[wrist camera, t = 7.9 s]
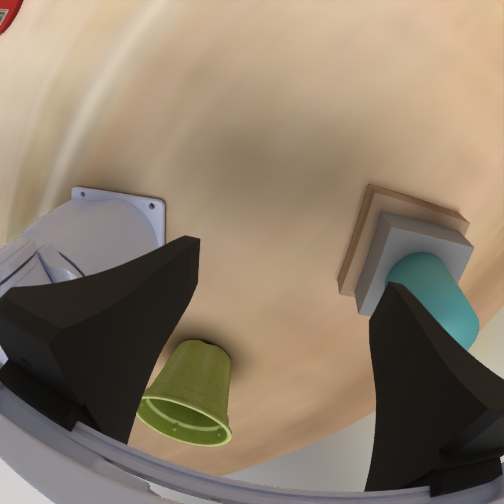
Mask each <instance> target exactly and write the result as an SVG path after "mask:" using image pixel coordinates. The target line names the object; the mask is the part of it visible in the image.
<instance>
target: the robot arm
mask: <svg viewBox="0 0 504 504" xmlns="http://www.w3.org/2000/svg"><path fill="white" fill-rule="evenodd" d="M83 192H84V193H85V195H84V193H83ZM71 194H72V199H70V200H69V201H67V202H65V203H64V204H62V205H60V206H59V207H57V208H55V209H54V210H52V211H50V212H49V213H47V214H46V215H44V216H42V217H41V218H39V219H38V220H36V221H35V222H33V223H32V224H30V225H29V226H28V227H27V228H26V229H25V231H24V232H23V234H22V235H21V237H19V238H17V239H15V240H14V241H12V242H10V243H8V244H7V245H5V246H4V247H2V248H1V249H0V457H1V459H2V460H4V461H5V462H6V463H7V464H8V465H9V466H10V467H11V468H12V469H13V470H14V471H15V472H16V473H18V474H19V475H20V476H21V477H22V478H23V479H25V480H26V481H27V482H28V483H29V484H30V485H32V486H33V487H34V488H35V489H37V490H38V491H39V492H41V493H42V494H43V495H44V496H46V497H47V498H49V499H50V500H51V501H53V502H54V503H55V504H183V503H179V502H176V501H172V500H169V499H165V498H162V497H161V496H159V495H158V494H156V493H155V492H153V491H152V490H151V489H150V485H149V483H147V482H145V481H143V480H141V479H139V478H137V477H140V478H142V479H145V480H147V481H150V482H152V483H155V484H158V485H161V486H163V487H167V488H169V489H172V490H175V491H178V492H181V493H185V494H188V495H191V496H195V497H198V498H202V499H206V500H210V501H214V502H218V503H223V504H504V462H503V463H501V461H500V457H502V456H503V455H504V379H502V378H501V377H499V376H498V375H496V374H495V373H493V372H492V371H491V370H489V369H488V368H487V367H485V366H484V365H483V364H482V363H480V362H479V361H478V360H476V359H475V358H474V357H473V356H472V355H471V354H470V353H468V352H467V351H466V350H465V349H464V348H463V347H462V346H461V345H460V344H459V343H458V342H457V341H456V340H455V339H454V338H453V337H452V336H451V335H450V334H449V333H448V332H447V331H446V330H445V329H444V328H443V327H442V326H441V325H440V323H439V322H438V321H437V320H436V319H435V318H434V317H433V316H432V315H431V313H430V312H429V311H428V310H427V309H426V308H425V307H424V306H423V304H422V303H421V302H420V301H419V300H418V299H417V298H416V297H415V296H414V295H413V294H412V293H411V291H409V290H408V289H407V288H406V287H405V286H404V285H403V284H400V283H396V282H391V281H388V284H387V286H386V288H385V290H384V292H383V294H382V296H381V298H380V300H379V302H378V304H377V306H376V308H375V310H374V312H373V314H372V316H371V318H370V320H369V344H370V351H371V359H372V366H373V373H374V381H375V390H376V424H375V436H374V445H373V452H372V458H371V464H370V469H369V474H368V478H367V482H366V486H365V490H364V492H327V491H309V490H298V489H289V488H280V487H273V486H266V485H260V484H254V483H249V482H243V481H239V480H233V479H229V478H225V477H221V476H217V475H213V474H209V473H205V472H201V471H198V470H194V469H191V468H188V467H184V466H181V465H178V464H175V463H172V462H169V461H166V460H163V459H161V458H158V457H155V456H153V455H150V454H147V453H145V452H142V451H140V450H137V449H135V448H133V447H130V446H128V445H127V443H128V439H129V436H130V433H131V429H132V426H133V423H134V419H135V416H136V413H137V410H138V408H139V405H140V402H141V399H142V396H143V394H144V391H145V388H146V386H147V383H148V381H149V378H150V376H151V373H152V371H153V369H154V366H155V364H156V362H157V359H158V357H159V355H160V353H161V351H162V349H163V347H164V345H165V344H166V342H167V340H168V339H169V337H170V335H171V334H172V332H173V330H174V329H175V327H176V325H177V323H178V322H179V320H180V318H181V317H182V315H183V313H184V312H185V310H186V308H187V307H188V305H189V303H190V300H191V298H192V296H193V293H194V291H195V289H196V286H197V284H198V269H199V252H200V239H199V238H195V237H190V236H186V235H185V236H182V237H180V238H178V239H176V240H173V241H171V242H169V243H167V244H165V204H164V202H163V201H162V200H159V199H153V198H147V197H141V196H135V195H129V194H123V193H117V192H111V191H104V190H98V189H91V188H84V187H78V186H76V187H74V188H72V190H71ZM151 203H153V204H154V206H155V207H152V206H151ZM127 472H128V473H127ZM129 473H130V474H129ZM131 474H132V475H131ZM133 475H135V476H137V477H135V476H133Z"/></svg>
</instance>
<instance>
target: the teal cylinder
mask: <svg viewBox="0 0 504 504" xmlns="http://www.w3.org/2000/svg"><path fill="white" fill-rule="evenodd" d="M388 281H391V282H396V283H400V284H403V285H404V286H405V287H406V288H407V289H408V290H409V291H411V293H412V294H413V295H414V296H415V297H416V298H417V299H418V300H419V301H420V302H421V303H422V304H423V306H424V307H425V308H426V309H427V310H428V311H429V312H430V313H431V315H432V316H433V317H434V318H435V319H436V320H437V321H438V322H439V323H440V325H441V326H442V327H443V328H444V329H445V330H446V331H447V332H448V333H449V334H450V335H451V336H452V337H453V338H454V339H455V340H456V341H457V342H458V343H459V344H460V345H461V346H462V347H463V348H464V349H465V350H466V351H467V350H468V349H469V348H470V347H471V346H472V344H473V343H474V341H475V339H476V337H477V335H478V332H479V320H478V317H477V316H476V314H475V312H474V310H473V309H472V307H471V305H470V304H469V302H468V300H467V299H466V297H465V295H464V294H463V292H462V291H461V289H460V288H459V286H458V284H457V283H456V281H455V280H454V278H453V277H452V275H451V274H450V272H449V271H448V269H447V268H446V266H445V265H444V264H443V262H442V261H441V259H440V258H439V257H437V256H436V255H434V254H432V253H429V252H416V253H412V254H410V255H407V256H405V257H404V258H402V259H401V260H399V261H398V262H397V263H396V264H395V265H394V266H393V267H392V269H391V270H390V272H389V274H388V276H387V278H386V282H385V288H386V286H387V284H388Z"/></svg>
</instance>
